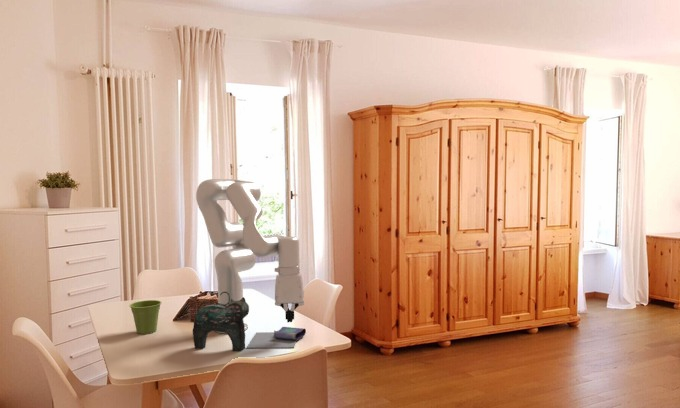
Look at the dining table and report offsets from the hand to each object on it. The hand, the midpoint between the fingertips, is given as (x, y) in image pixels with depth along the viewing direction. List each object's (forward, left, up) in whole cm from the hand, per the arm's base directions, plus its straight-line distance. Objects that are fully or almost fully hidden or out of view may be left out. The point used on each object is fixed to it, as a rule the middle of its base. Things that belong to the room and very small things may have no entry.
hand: (289, 321), depth 182 cm
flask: (+4, +1, -5) cm, 7 cm away
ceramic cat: (-23, -9, -7) cm, 26 cm away
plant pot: (-58, +13, -7) cm, 60 cm away
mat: (-6, 0, -7) cm, 9 cm away
